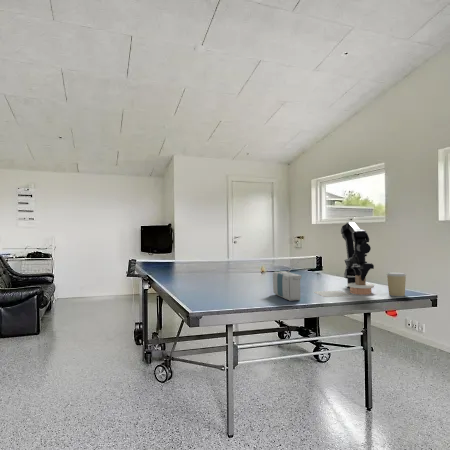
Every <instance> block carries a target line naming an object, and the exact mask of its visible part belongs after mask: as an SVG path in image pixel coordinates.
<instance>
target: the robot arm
mask: <svg viewBox="0 0 450 450" xmlns="http://www.w3.org/2000/svg"><path fill="white" fill-rule="evenodd" d="M340 234H341V236H342V239H343V240H344V241H345V248H346V249H345V250H346V254H347V255H346V256H347V258H346V259H344V263H345V271H344V273H343V276H344V279H347V280H346V281H347V283H346V284H348V283H355V275H361V280H362V281H364V279H365V277H367V275H368V273H369V271H370V270H372V269H373V270H374V268H375V265H374V264H373V263H370V262H368V261H366V257H367V256H368V254H369V252H371V248H372V247H371V245H370V244H369V243H370V238H369V235H368V233H367V231H366V230H365V229H364V228H363V229H362V228H360V227H359V226H358V225H357V222H355V221H346V223H345V224H344V225H342V226H341V227H340ZM346 288H347V289H350V287H348V286H346Z"/></svg>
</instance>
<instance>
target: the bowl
mask: <svg viewBox="0 0 450 450" xmlns="http://www.w3.org/2000/svg"><path fill="white" fill-rule="evenodd" d="M349 293H351V294H354V295H372V288H352V287H350V288H349Z"/></svg>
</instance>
